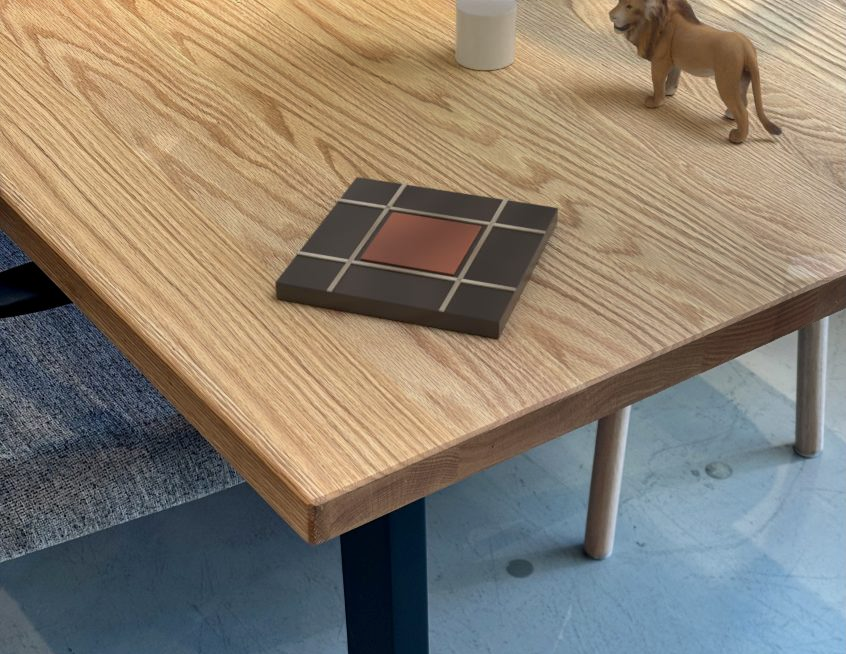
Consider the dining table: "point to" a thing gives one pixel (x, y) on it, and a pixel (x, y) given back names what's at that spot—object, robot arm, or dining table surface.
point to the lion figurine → (692, 56)
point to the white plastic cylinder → (485, 33)
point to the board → (421, 256)
